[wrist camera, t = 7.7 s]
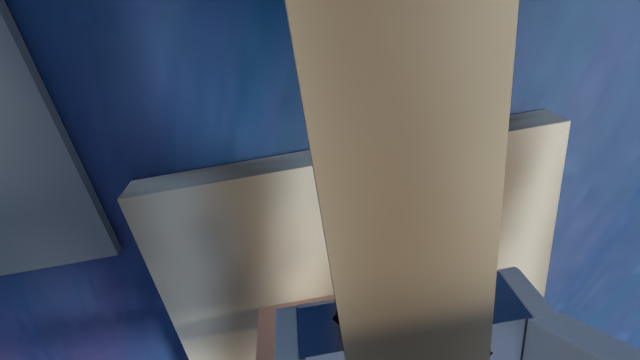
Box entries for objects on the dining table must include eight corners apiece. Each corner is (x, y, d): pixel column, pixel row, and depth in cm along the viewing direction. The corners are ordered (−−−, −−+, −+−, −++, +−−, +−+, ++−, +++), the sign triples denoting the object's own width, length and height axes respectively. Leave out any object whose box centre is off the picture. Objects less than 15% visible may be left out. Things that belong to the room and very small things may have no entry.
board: (545, 108, 21) (570, 120, 19) (511, 394, 32) (525, 419, 30) (131, 180, 20) (116, 199, 19) (241, 443, 31) (239, 471, 30)
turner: (538, -406, 6) (779, -765, 3) (479, 428, 15) (523, 528, 12) (116, -344, 5) (-39, -654, 3) (320, 457, 15) (329, 564, 12)
